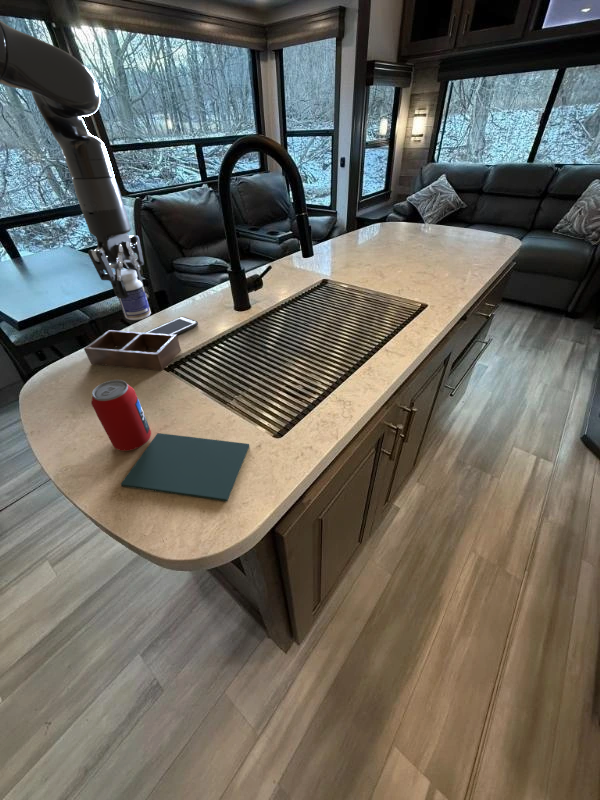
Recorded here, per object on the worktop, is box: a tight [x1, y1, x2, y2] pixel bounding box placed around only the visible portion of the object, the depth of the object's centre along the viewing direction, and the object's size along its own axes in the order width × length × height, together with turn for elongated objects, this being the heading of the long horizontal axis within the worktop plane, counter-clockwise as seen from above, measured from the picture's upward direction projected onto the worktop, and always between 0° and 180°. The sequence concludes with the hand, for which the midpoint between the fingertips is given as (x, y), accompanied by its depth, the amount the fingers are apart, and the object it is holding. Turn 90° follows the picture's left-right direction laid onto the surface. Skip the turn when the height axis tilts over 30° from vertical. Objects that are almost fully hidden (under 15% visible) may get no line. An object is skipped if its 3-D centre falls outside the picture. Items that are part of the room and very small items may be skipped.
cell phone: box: [144, 315, 199, 336], centre depth 97 cm, size 8×15×1 cm, turn 144°
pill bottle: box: [113, 268, 152, 321], centre depth 74 cm, size 6×6×10 cm
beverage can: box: [91, 379, 152, 452], centre depth 58 cm, size 7×7×12 cm
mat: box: [120, 432, 250, 503], centre depth 57 cm, size 18×12×1 cm, turn 80°
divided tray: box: [83, 329, 182, 371], centre depth 84 cm, size 19×10×4 cm, turn 80°
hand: (130, 292), depth 74 cm, fingers closed on pill bottle, 5 cm apart
